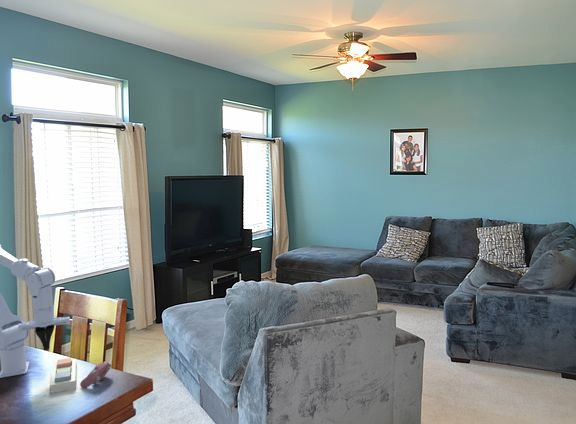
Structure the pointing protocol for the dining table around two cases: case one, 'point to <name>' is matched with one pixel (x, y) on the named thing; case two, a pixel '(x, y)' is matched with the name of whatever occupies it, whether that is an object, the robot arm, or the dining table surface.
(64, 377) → the slate key
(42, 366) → the dining table surface
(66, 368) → the sage key
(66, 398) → the dining table surface
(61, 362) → the terracotta key
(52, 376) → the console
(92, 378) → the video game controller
